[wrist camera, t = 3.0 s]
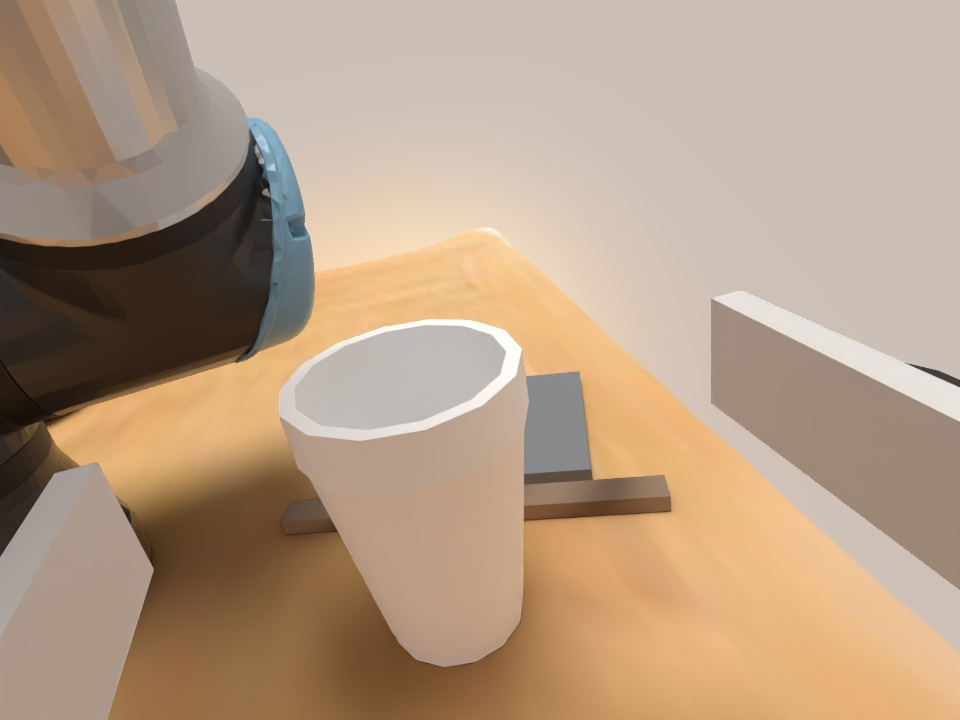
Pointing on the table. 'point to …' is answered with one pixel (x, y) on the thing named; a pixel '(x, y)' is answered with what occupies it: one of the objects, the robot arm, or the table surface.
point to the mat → (555, 430)
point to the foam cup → (422, 475)
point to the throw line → (532, 502)
